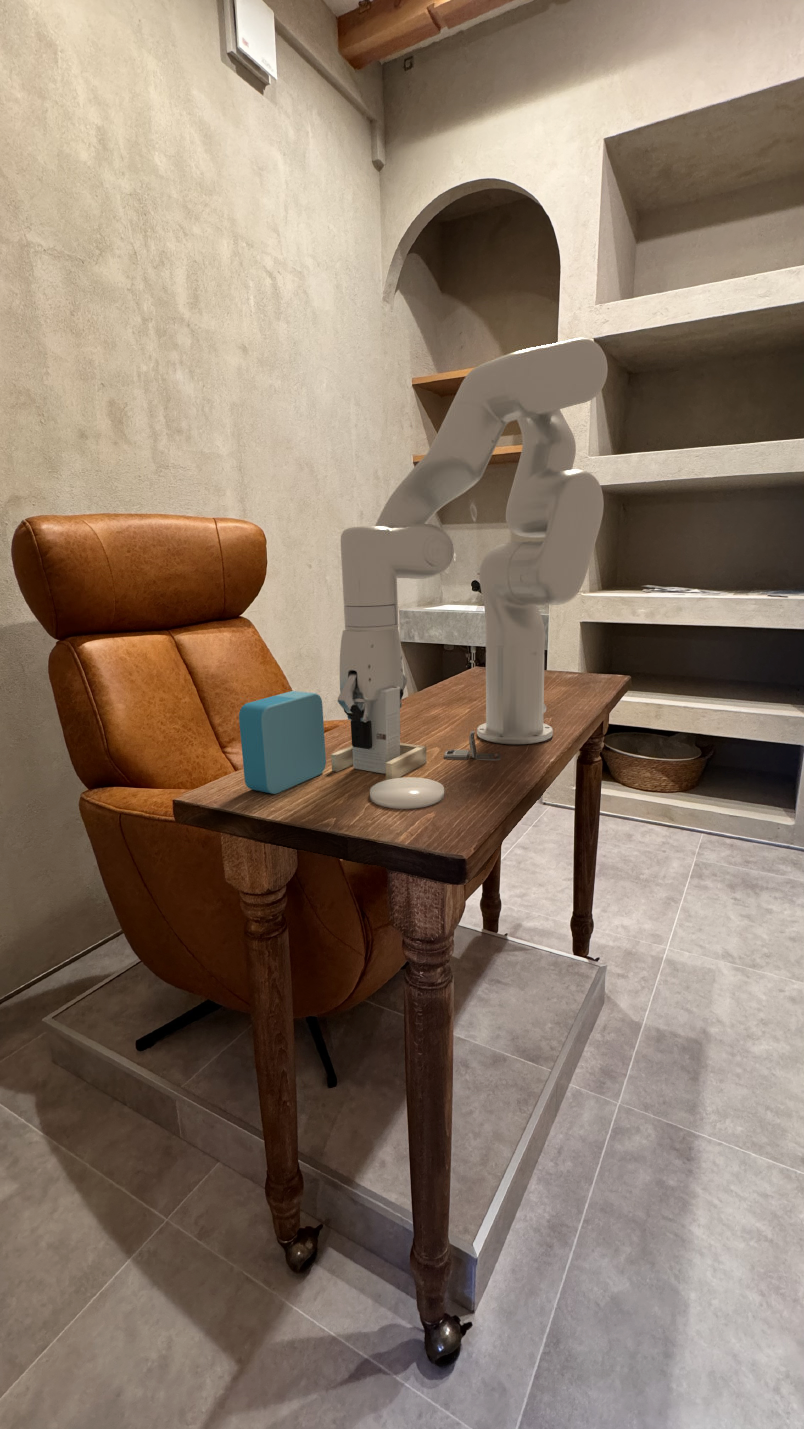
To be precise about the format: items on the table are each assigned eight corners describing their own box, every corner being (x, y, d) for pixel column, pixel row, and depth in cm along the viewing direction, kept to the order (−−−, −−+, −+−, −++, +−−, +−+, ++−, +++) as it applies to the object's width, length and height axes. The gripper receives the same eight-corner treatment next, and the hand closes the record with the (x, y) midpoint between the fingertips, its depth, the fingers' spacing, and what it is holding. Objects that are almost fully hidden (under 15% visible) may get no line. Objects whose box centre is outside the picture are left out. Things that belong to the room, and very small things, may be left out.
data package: (303, 767, 100) (298, 688, 97) (327, 772, 98) (322, 691, 95) (244, 792, 90) (236, 705, 87) (269, 797, 88) (261, 708, 85)
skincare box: (351, 769, 98) (347, 688, 95) (368, 761, 102) (364, 682, 99) (387, 774, 95) (384, 691, 92) (403, 765, 99) (400, 685, 96)
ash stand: (369, 753, 106) (368, 738, 105) (426, 762, 100) (426, 746, 100) (332, 770, 98) (330, 754, 97) (392, 781, 92) (391, 763, 92)
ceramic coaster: (395, 779, 93) (395, 773, 93) (457, 789, 88) (457, 783, 88) (355, 801, 85) (355, 795, 85) (420, 814, 80) (419, 807, 80)
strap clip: (443, 760, 102) (442, 734, 101) (446, 755, 105) (445, 728, 104) (499, 762, 100) (499, 735, 99) (500, 756, 103) (500, 729, 102)
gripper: (383, 612, 103) (387, 725, 107) (310, 623, 88) (319, 753, 93) (425, 612, 99) (428, 730, 103) (356, 625, 84) (363, 760, 89)
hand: (376, 740), depth 98 cm, fingers open, 6 cm apart
